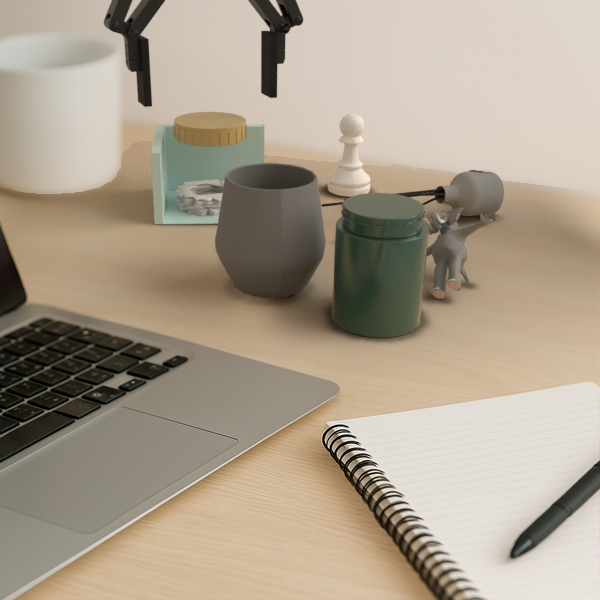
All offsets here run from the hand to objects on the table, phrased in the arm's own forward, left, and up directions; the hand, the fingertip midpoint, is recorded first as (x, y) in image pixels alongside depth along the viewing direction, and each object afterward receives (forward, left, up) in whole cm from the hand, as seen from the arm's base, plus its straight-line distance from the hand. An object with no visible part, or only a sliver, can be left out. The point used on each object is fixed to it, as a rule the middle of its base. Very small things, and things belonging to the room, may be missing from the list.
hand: (208, 99), depth 87 cm
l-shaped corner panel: (0, 0, -12) cm, 12 cm away
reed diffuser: (-22, +6, -12) cm, 25 cm away
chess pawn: (-16, -5, -12) cm, 20 cm away
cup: (-6, +22, -12) cm, 25 cm away
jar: (-14, +28, -12) cm, 33 cm away
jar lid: (0, 0, -2) cm, 3 cm away
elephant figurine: (-22, +21, -12) cm, 33 cm away
